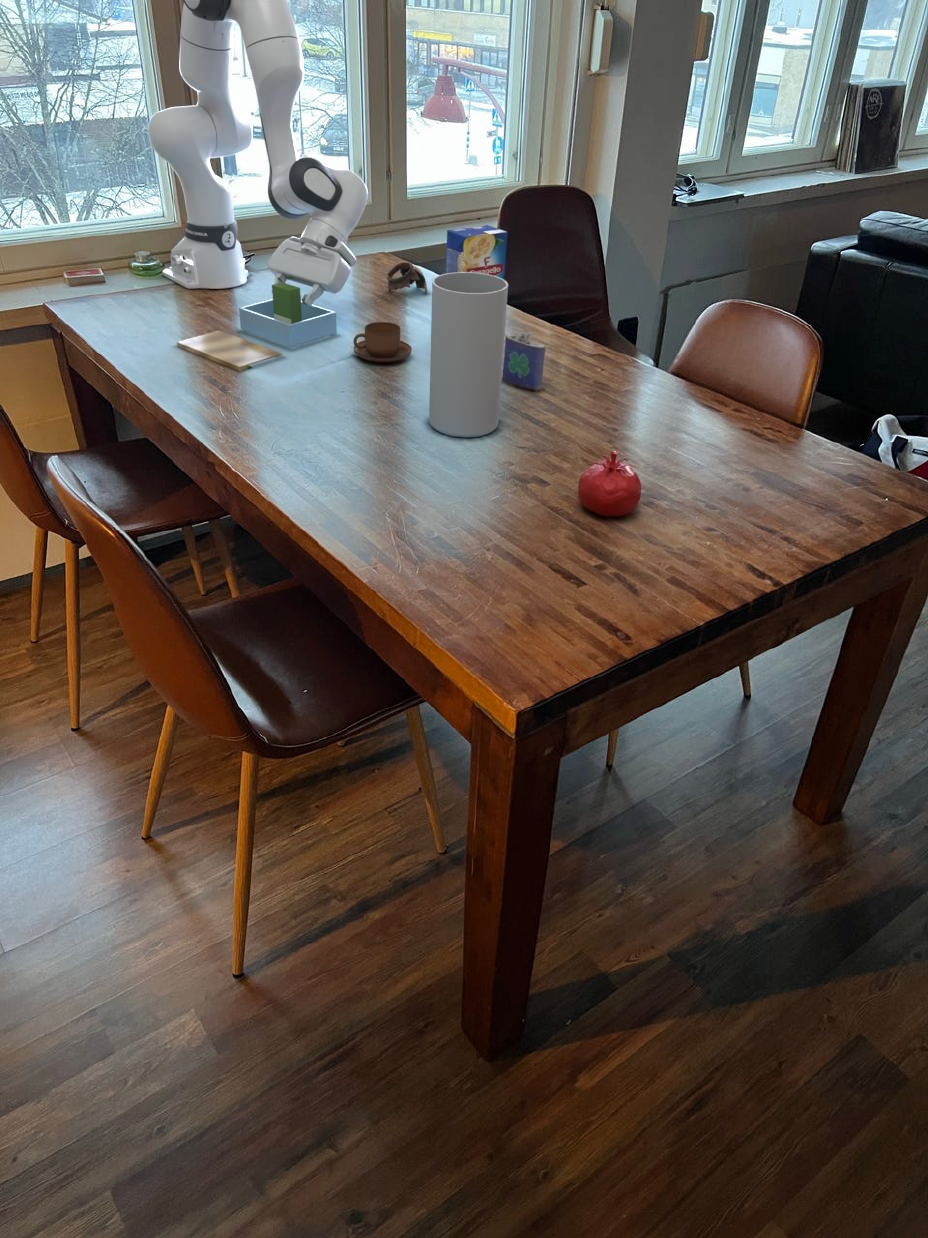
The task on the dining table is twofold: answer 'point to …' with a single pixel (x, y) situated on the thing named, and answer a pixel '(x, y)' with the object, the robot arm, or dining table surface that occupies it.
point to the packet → (286, 303)
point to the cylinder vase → (466, 352)
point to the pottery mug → (406, 277)
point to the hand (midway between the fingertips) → (290, 299)
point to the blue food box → (476, 250)
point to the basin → (309, 329)
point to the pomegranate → (610, 487)
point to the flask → (523, 362)
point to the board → (227, 350)
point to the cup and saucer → (381, 343)
